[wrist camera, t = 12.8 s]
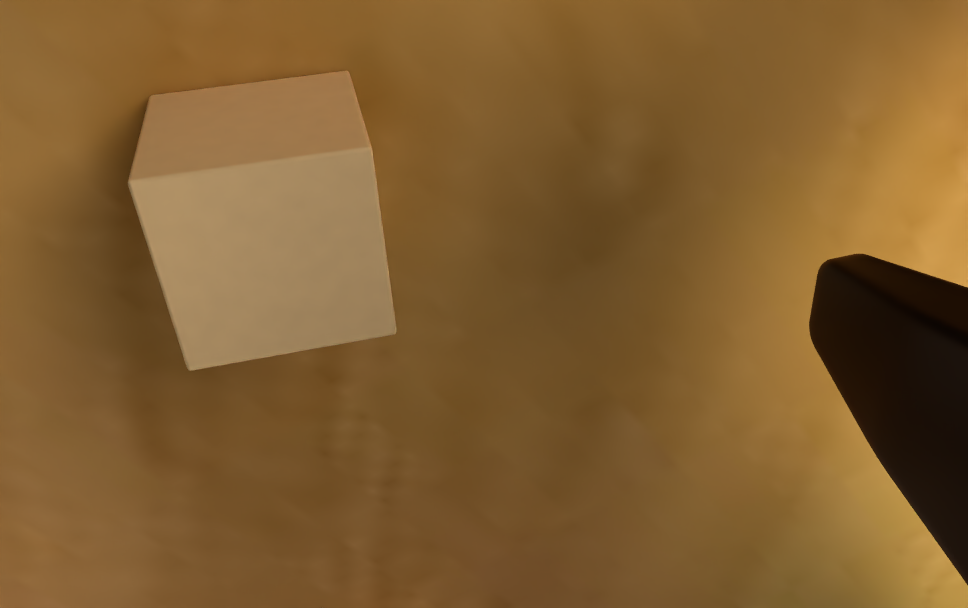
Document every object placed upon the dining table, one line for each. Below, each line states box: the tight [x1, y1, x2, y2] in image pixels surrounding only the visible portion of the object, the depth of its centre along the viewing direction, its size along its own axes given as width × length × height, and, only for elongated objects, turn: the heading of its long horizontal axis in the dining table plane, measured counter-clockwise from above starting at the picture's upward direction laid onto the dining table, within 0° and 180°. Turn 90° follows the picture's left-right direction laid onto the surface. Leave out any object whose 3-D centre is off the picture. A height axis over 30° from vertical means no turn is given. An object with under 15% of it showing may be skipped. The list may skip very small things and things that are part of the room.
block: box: [128, 71, 397, 371], centre depth 19 cm, size 4×4×4 cm
